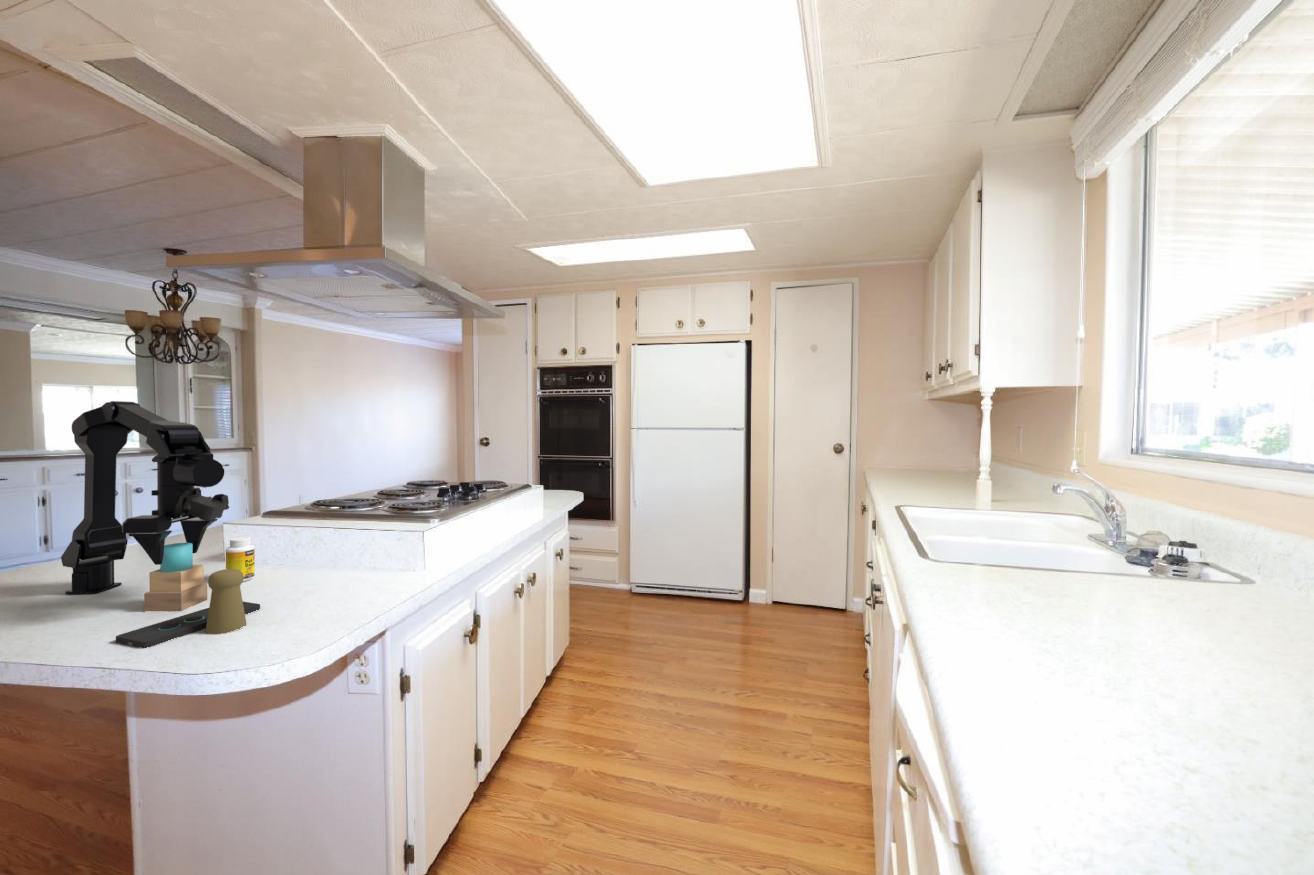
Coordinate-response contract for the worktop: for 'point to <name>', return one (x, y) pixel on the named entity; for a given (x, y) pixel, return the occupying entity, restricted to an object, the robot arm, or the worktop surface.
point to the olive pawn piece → (225, 602)
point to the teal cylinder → (177, 557)
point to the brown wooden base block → (175, 599)
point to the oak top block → (176, 579)
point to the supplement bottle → (241, 556)
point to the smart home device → (172, 628)
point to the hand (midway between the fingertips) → (176, 558)
